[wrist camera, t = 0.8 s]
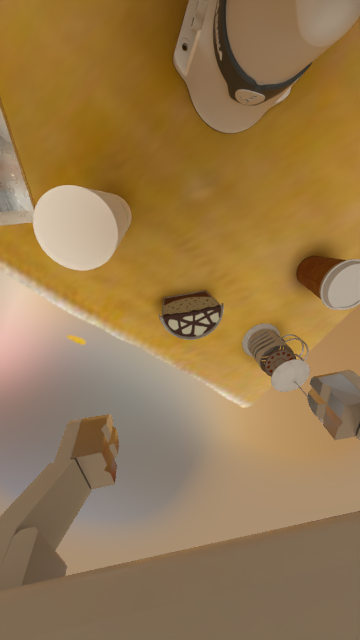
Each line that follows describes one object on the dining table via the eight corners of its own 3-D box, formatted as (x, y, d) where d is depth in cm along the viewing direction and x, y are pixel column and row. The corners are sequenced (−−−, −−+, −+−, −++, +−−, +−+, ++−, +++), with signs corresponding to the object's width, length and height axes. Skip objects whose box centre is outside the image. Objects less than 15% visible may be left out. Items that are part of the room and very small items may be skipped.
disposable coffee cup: (339, 260, 54) (387, 275, 43) (311, 297, 57) (349, 319, 46) (308, 240, 51) (352, 250, 40) (280, 280, 54) (314, 299, 43)
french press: (234, 344, 60) (286, 429, 38) (268, 310, 57) (348, 380, 35) (259, 363, 64) (320, 450, 41) (293, 332, 60) (378, 408, 38)
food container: (161, 323, 55) (164, 347, 46) (156, 298, 52) (158, 318, 43) (214, 314, 55) (227, 336, 46) (212, 289, 53) (226, 307, 44)
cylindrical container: (82, 216, 43) (16, 233, 21) (107, 183, 41) (63, 163, 19) (115, 244, 46) (88, 285, 24) (139, 214, 44) (134, 228, 22)
